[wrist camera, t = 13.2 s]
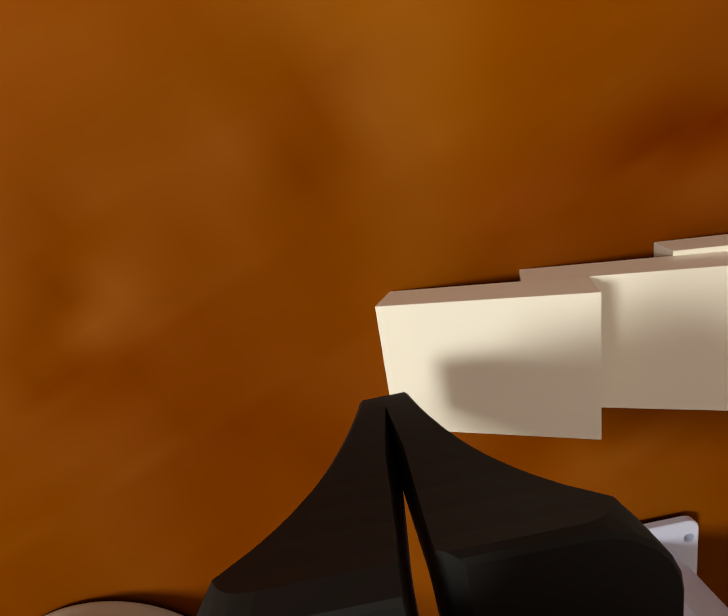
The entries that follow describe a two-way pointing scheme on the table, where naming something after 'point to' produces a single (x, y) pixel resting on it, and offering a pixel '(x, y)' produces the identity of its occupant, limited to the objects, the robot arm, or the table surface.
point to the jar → (113, 609)
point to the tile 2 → (660, 329)
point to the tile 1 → (499, 355)
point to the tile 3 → (691, 246)
